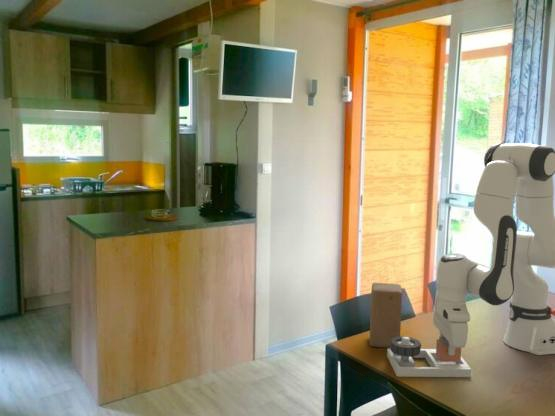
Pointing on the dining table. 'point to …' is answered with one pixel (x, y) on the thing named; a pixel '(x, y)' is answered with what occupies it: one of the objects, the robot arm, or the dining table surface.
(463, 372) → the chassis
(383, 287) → the wooden block
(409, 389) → the dining table surface
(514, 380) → the dining table surface
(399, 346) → the wheel
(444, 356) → the two-tone grey-capped cube
